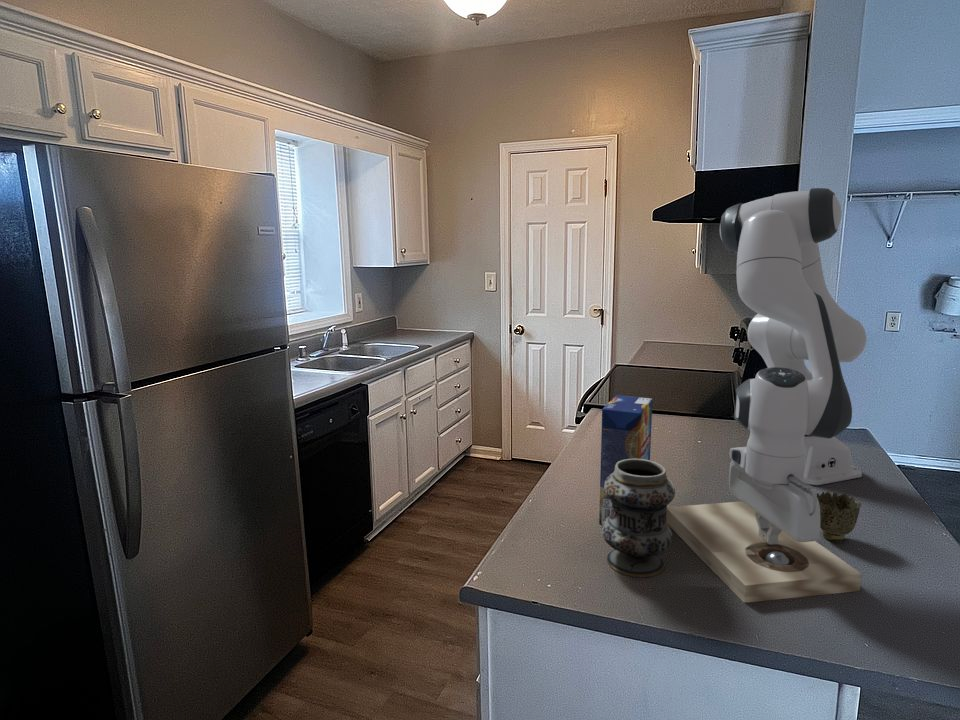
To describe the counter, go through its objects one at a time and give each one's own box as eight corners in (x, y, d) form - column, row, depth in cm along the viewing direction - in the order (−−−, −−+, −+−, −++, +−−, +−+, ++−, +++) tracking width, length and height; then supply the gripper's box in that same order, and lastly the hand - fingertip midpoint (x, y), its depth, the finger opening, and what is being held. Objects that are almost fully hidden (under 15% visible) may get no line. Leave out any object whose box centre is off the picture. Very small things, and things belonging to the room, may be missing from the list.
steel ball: (777, 554, 102) (788, 546, 99) (787, 577, 100) (799, 570, 96) (756, 557, 101) (766, 550, 98) (766, 581, 99) (777, 574, 96)
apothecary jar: (685, 574, 100) (691, 475, 96) (622, 587, 96) (626, 484, 93) (646, 541, 111) (650, 451, 108) (588, 551, 108) (590, 458, 104)
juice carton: (636, 531, 115) (641, 413, 110) (599, 523, 118) (602, 409, 114) (648, 506, 125) (652, 398, 121) (613, 500, 129) (616, 394, 124)
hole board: (756, 513, 121) (757, 500, 121) (859, 590, 94) (861, 574, 94) (664, 521, 119) (665, 507, 118) (743, 602, 92) (745, 585, 91)
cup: (803, 529, 115) (806, 491, 113) (841, 529, 114) (845, 490, 113) (823, 548, 107) (828, 508, 106) (865, 548, 107) (869, 507, 106)
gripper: (835, 488, 89) (827, 570, 92) (756, 444, 109) (750, 513, 112) (797, 491, 88) (790, 574, 91) (724, 446, 108) (719, 515, 111)
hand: (767, 540), depth 102 cm, fingers closed
